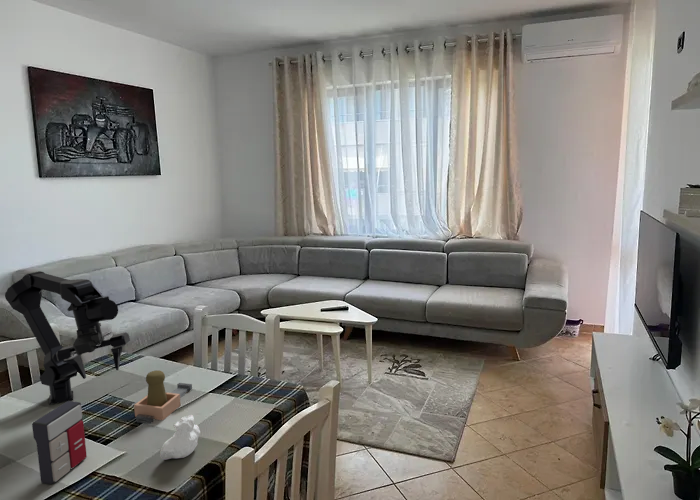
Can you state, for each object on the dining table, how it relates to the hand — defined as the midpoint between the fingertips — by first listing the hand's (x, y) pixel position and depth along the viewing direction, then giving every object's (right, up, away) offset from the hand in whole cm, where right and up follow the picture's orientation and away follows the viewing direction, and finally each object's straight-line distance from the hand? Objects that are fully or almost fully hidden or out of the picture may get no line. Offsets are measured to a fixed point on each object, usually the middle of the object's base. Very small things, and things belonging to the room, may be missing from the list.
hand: (101, 374), depth 143 cm
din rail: (+17, -11, +5) cm, 21 cm away
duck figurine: (+31, -15, -20) cm, 40 cm away
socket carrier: (+16, -11, +1) cm, 20 cm away
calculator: (+5, -16, -27) cm, 32 cm away
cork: (+16, -10, +1) cm, 19 cm away
